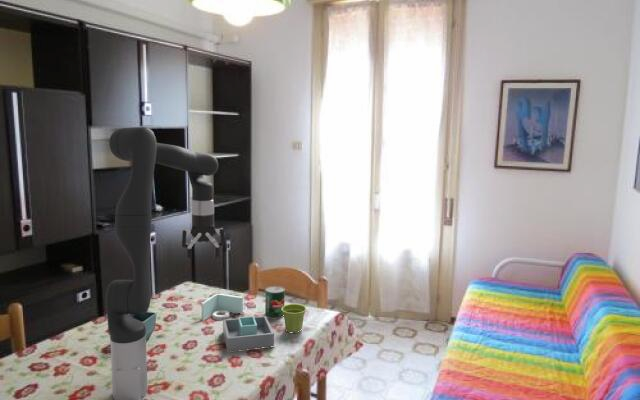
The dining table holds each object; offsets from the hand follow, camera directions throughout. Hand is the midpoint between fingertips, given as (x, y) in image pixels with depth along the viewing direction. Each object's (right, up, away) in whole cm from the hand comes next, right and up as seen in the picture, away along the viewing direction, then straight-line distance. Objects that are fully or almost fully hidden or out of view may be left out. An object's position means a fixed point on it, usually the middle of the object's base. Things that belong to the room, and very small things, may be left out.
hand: (203, 258), depth 161 cm
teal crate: (+15, -29, +5) cm, 33 cm away
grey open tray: (+15, -30, +5) cm, 34 cm away
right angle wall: (+1, -28, +25) cm, 37 cm away
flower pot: (-23, -30, +3) cm, 38 cm away
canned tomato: (+22, -27, +28) cm, 45 cm away
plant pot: (+31, -29, +14) cm, 45 cm away
